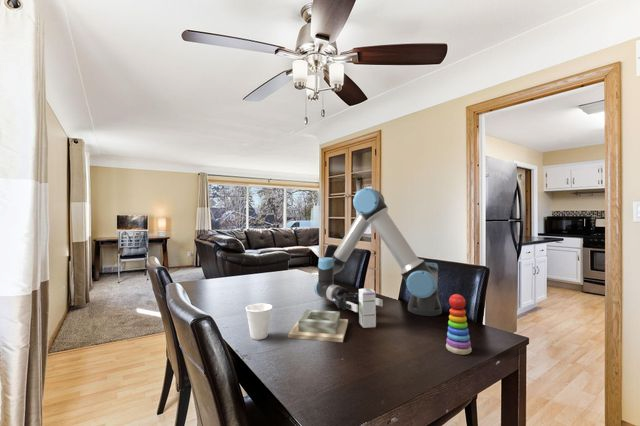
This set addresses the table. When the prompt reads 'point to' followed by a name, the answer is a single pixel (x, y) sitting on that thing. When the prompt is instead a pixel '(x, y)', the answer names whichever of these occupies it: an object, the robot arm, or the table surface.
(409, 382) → the table surface
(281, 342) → the table surface
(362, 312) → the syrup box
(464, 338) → the stacking toy
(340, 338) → the socket block
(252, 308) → the cup
